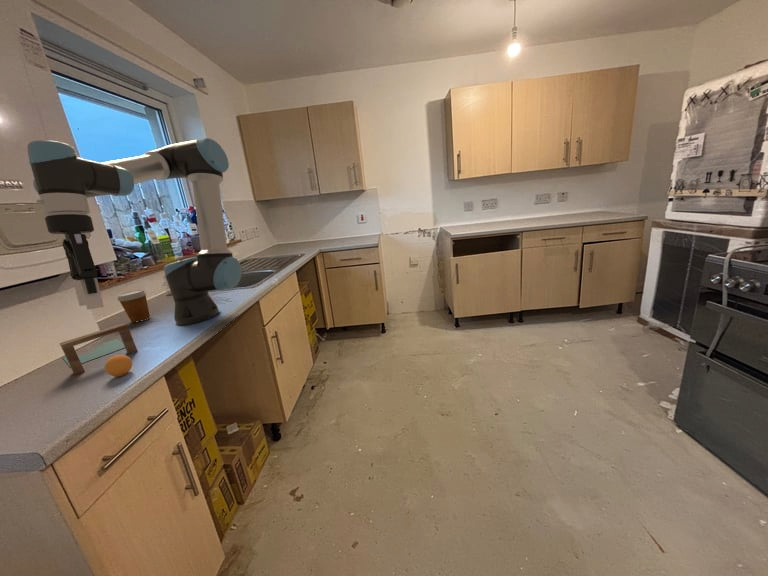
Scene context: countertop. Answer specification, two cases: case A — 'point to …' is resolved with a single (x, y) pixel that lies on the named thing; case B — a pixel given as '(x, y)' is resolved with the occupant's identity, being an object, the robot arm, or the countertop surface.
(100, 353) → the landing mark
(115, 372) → the ball
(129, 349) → the bridge
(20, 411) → the countertop surface
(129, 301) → the disposable coffee cup
